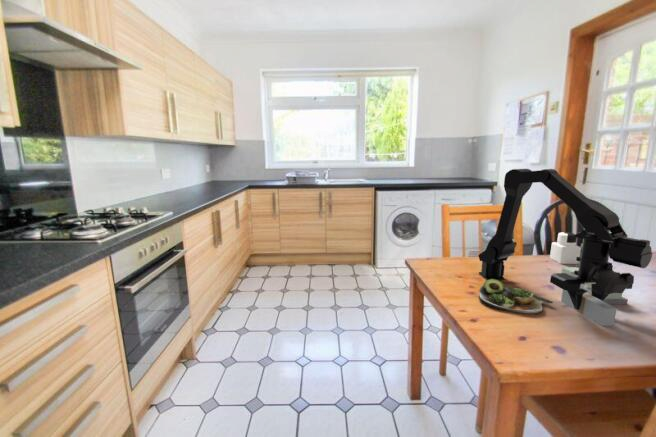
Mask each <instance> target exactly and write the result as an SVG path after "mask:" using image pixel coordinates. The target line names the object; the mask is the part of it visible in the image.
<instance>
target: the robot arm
mask: <svg viewBox="0 0 656 437" xmlns="http://www.w3.org/2000/svg"><path fill="white" fill-rule="evenodd" d="M503 182H504V183H503V188H504V191H505V192H504V193H505V197H504V201H503V204H502V210H501V213H500V217H499V221H498V224H497V228H496V232H495V234H494V235H493V236H492V237H491V238H490V239H489V241H488V244H487V245H486V248H485V250H484V251H482V252H481V253H479V254H478V259H479V261H480V262H481V271H479V272H478V274H479V275H480V276H481V277H483V278H484V279H486V281H487V280H489V279H496V280H499V281H500V280H501V281H502V280H506V278H505V277H504V275H505V265H504V263H505V262H507V260H508V259H509V258H510V257H511V256H512V255H513V254H514V253H515V250H516V247H517V245H518V244H517V242H516V241H514V240H513V233H514V229H515V225H516V221H517V219H518V216H519V215H518V214H519V212H520V208H521V204H522V201H523V198H524V196H525V195H526V194H527V193H528V192H529V190H530V189H531V188H532V185H533V184H534V183H541V184H543V185H544V186H545V187H546V188H547V189H548V190H549V191H551V193H553V194H554V195H555V196H556V197H557V198H558V199H559V200H560V201H562V202H563V203H564V204H565V205H566V206H567V207H568V208H569V209H570V210H571V211H572V212H573V214H574V215H575V218H576V219H575V220H577V221H578V223H579V224H580V226H581V227H582V228H583V229H582V230H580V231H579V232H578V233H574V234H575V235H574V236H575V237H577V239H583V240H582V243H583V245H582V251H581V257H577V258H576V260H577V261H579V264H578V265H579V266H578V268H579V270H578V271H574V274H575V275H578V277H573V276H571V275H568V274H566V273H562V272H561V273H560V272H559V273H553V274H551V275H550V280H549V282H550V283H551V284H552V285H555V286H556V287H559V288H560V289H562V291H563V290H567V291H568V293H569V296H570V298H571V301H572V303H573V305H574V308H575V309H576V310H579V309H580V306H581V301H582V296H583V294H584V293H586V292H587V291H586V290H584V289H583V288H584V284H591V288H592V296H594V297H596V298H598V299H600V300H602V301H604V299H605V298H606V297H607V296H608V295H609V294H612V293H622V294H623V293H624V292H625V290H630V289H631V290H632V289H633V285H634V282H635V275H633V274H632V273H630V272H622V273H621V272H619V271H618V272H617V271H614V269H613V262H616V263H619V264H623V265H628V266H632V267H635V268H640V269H646V268H647V267H648V266H649V264H650V263H651V261H652V259H653V258H652V257H653V252H652V251H653V250H652V246H650V245H651V240H647V239H638V238H632V237H628V234H627V233H626V231H625V230H624V228H623V227H622V225H621V224H620V223H619V221H620V217H619V216H618V214H617V213H615V212H614V211H613V210H610V209H609V208H608V207H606V206H603V205H602V204H599V203H596V202H594V201H592V200H590V199H589V198H588V197H587V196H586V195H584V194H583V193H582V192H581V191H579V190H578V189H577V188H576V187H575V186H573V185H572V184H571V183H570V182H569V181H568V180H566V179H565V178H564V177H563V176H562V175H560V174H559V171H557V170H556V169H554V168H545V169H541V170H532V169H529V168H513V169H510V170H508V171H507V172H506V173H505V175H504V181H503ZM609 259H611V260H612V261H613V262H609ZM504 261H505V262H504ZM575 309H574V310H575ZM576 310H575V311H576Z"/></svg>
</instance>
